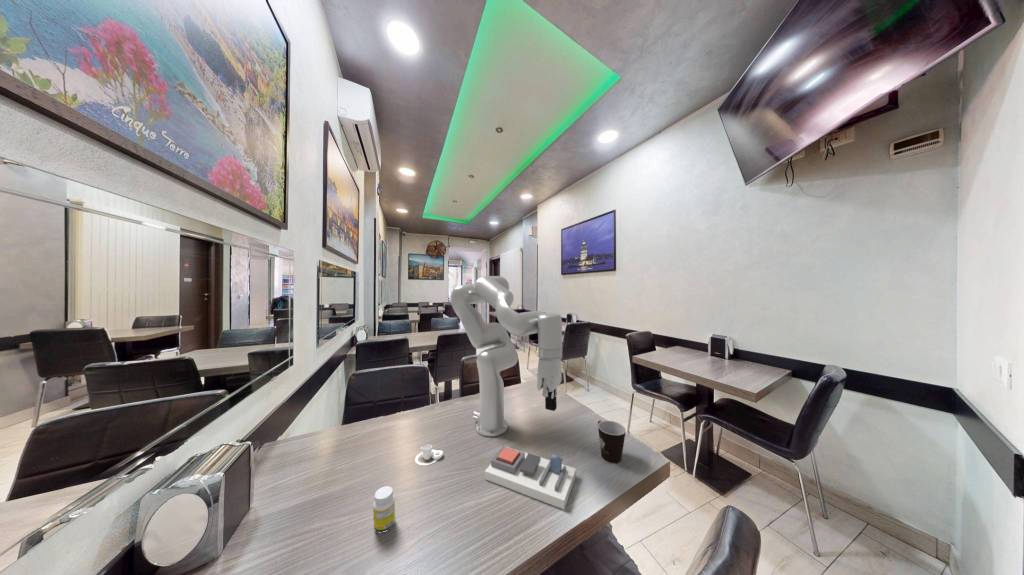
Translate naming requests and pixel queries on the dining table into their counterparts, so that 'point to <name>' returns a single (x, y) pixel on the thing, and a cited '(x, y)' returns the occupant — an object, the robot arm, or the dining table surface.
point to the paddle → (556, 464)
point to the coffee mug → (611, 440)
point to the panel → (533, 479)
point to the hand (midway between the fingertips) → (551, 408)
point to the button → (508, 456)
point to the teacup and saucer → (428, 454)
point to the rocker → (530, 464)
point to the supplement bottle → (384, 509)
